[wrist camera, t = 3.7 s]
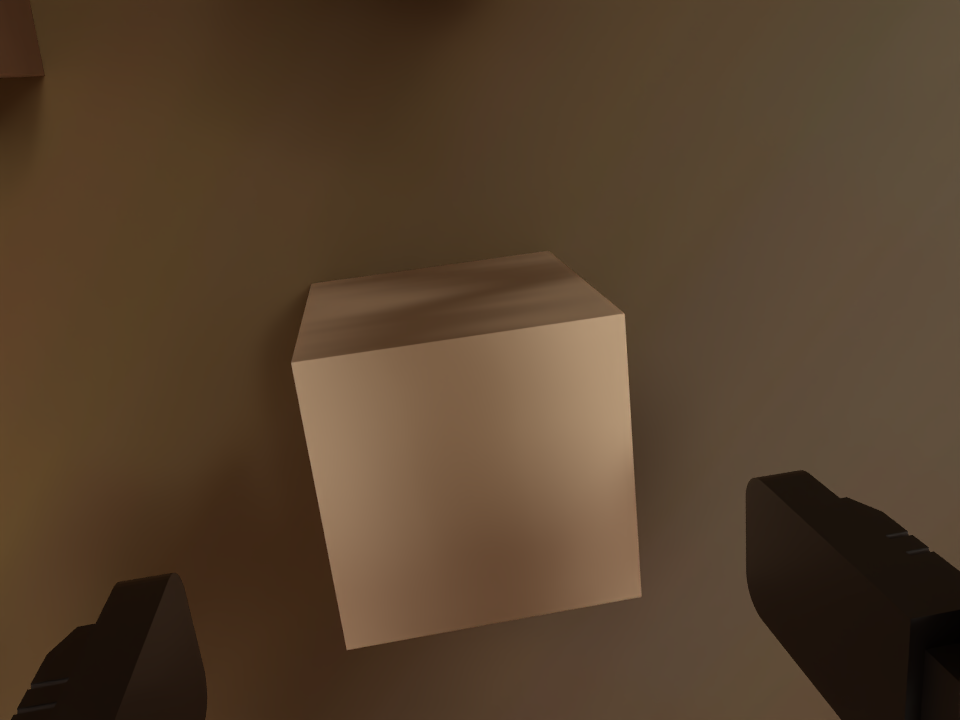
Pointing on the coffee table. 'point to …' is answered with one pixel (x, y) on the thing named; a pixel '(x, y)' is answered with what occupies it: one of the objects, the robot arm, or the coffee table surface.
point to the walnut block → (18, 41)
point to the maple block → (468, 445)
